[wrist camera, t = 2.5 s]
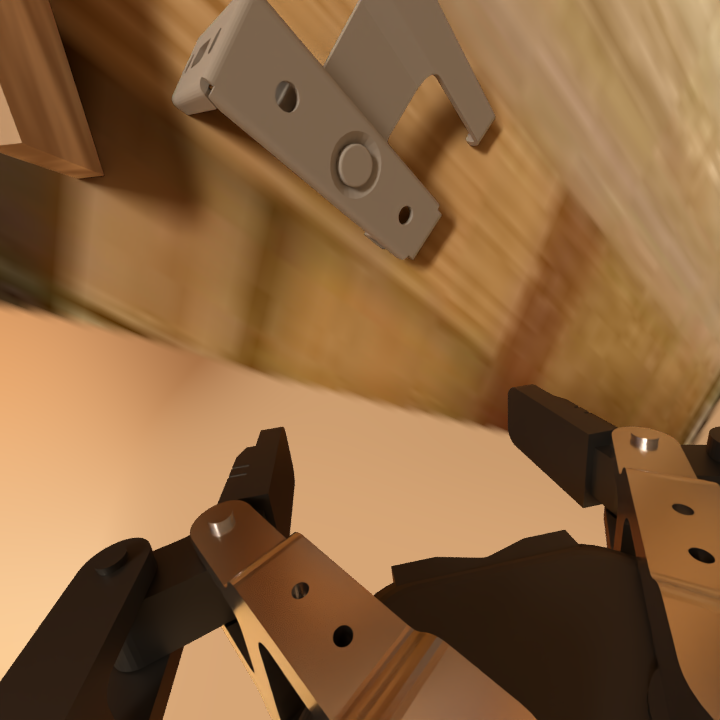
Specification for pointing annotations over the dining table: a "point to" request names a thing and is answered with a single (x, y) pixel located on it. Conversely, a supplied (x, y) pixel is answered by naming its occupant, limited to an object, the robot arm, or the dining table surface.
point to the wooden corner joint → (41, 94)
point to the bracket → (338, 103)
